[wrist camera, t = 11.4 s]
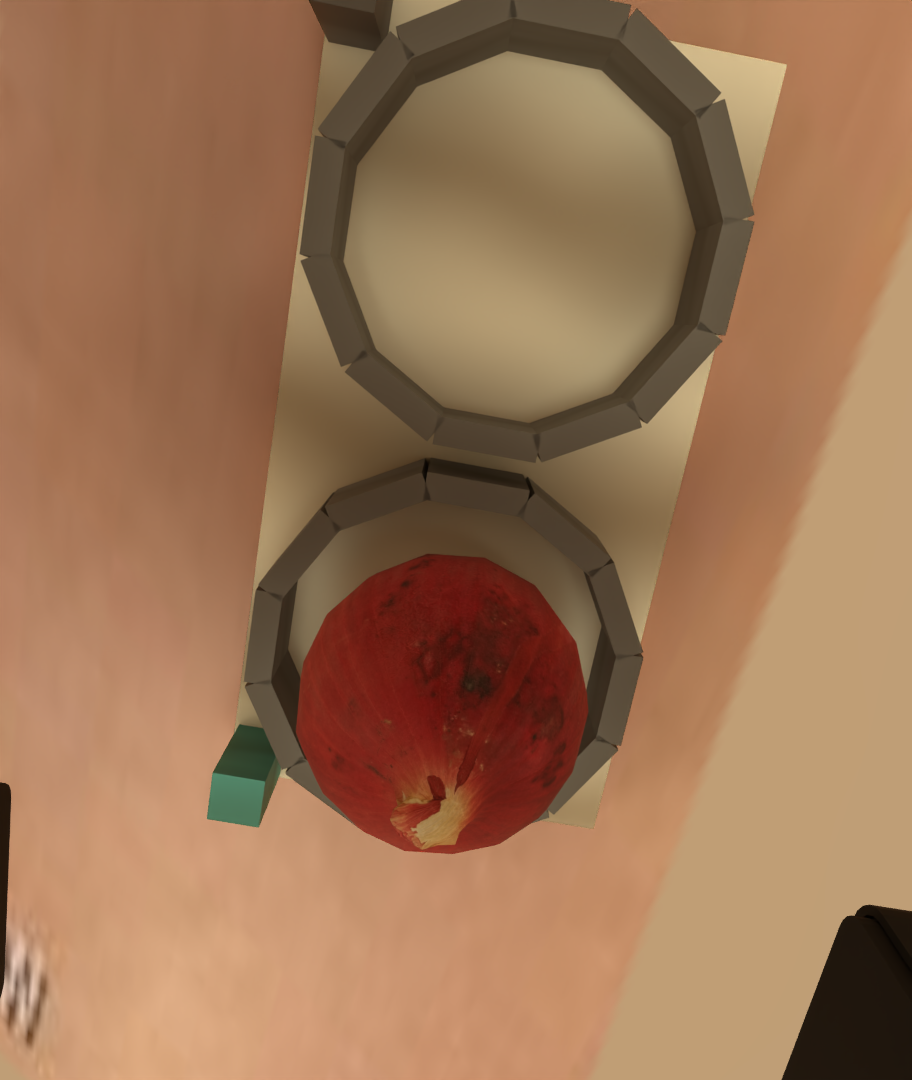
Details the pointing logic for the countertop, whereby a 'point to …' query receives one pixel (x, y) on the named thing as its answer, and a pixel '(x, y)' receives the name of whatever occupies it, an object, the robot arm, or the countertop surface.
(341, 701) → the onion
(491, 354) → the cream flat ringed piece
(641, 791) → the countertop surface
